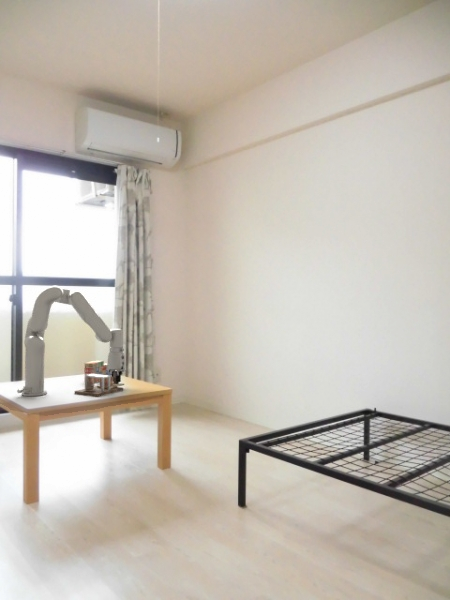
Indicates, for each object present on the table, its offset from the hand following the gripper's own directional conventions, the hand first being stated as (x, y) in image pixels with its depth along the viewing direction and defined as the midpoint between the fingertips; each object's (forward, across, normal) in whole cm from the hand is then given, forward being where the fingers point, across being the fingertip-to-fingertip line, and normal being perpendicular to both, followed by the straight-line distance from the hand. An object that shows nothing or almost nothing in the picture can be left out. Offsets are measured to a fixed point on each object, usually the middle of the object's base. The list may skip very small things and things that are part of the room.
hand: (115, 381), depth 274 cm
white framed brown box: (+2, 0, +5) cm, 5 cm away
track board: (+4, 0, +14) cm, 14 cm away
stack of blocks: (+4, +27, -15) cm, 31 cm away
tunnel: (+2, 0, +15) cm, 15 cm away
